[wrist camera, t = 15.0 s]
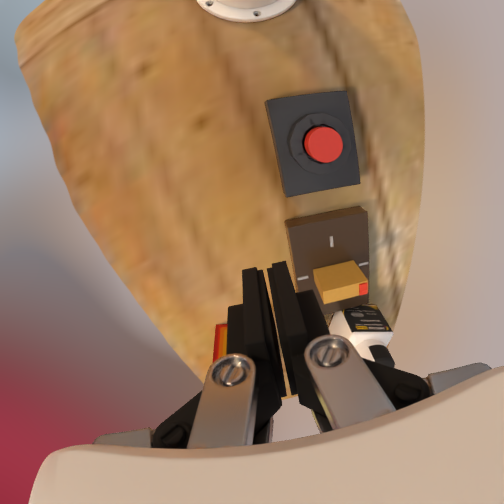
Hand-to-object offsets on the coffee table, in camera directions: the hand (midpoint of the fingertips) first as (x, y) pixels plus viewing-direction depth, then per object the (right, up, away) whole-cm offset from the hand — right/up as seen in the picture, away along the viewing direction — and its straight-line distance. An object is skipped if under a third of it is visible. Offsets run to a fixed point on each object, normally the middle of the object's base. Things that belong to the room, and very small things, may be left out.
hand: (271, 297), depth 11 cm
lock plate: (+10, +1, +26) cm, 28 cm away
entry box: (+6, +15, +19) cm, 25 cm away
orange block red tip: (+10, -1, +24) cm, 26 cm away
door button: (+6, +13, +16) cm, 21 cm away
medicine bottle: (+15, -9, +31) cm, 36 cm away
